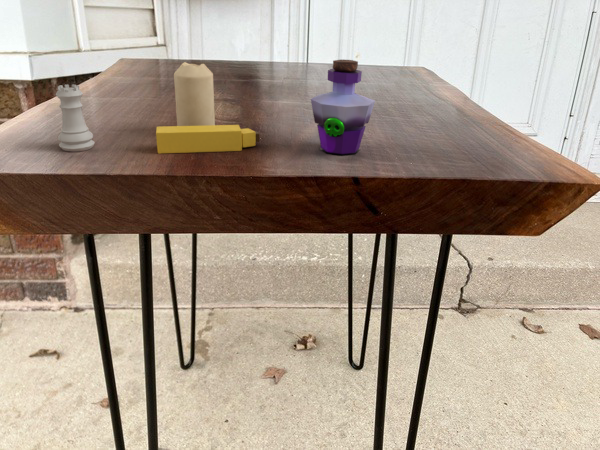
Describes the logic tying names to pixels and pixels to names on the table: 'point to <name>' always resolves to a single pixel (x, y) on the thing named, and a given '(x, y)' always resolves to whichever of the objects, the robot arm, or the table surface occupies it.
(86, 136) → the rook chess piece
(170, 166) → the table surface
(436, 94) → the table surface
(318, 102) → the potion bottle
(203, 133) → the yellow highlighter marker
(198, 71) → the candle
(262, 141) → the table surface
